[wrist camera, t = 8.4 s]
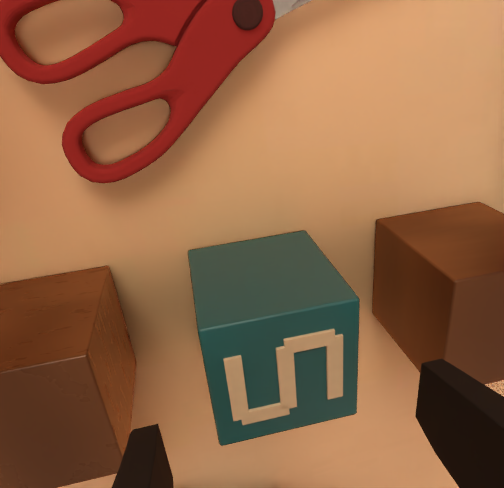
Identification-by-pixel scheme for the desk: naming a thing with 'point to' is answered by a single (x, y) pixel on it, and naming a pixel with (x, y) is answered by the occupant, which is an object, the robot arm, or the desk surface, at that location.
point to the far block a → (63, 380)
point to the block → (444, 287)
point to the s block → (274, 335)
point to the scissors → (167, 83)
